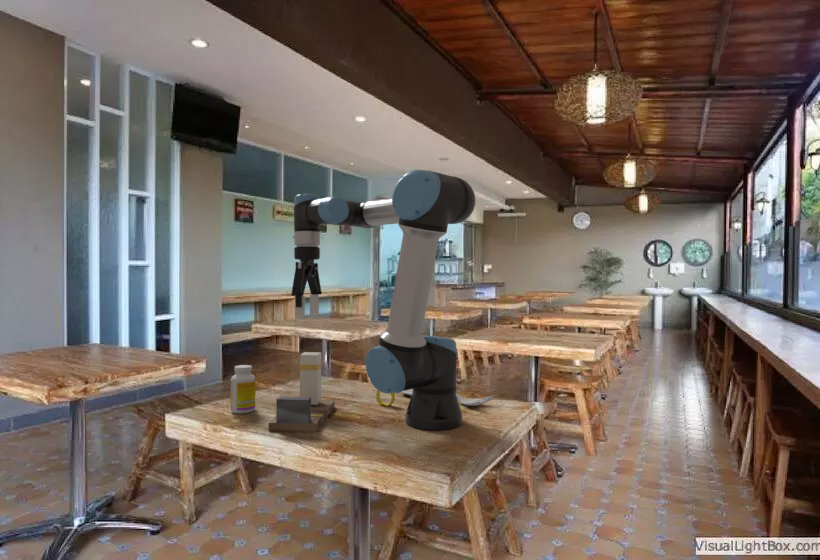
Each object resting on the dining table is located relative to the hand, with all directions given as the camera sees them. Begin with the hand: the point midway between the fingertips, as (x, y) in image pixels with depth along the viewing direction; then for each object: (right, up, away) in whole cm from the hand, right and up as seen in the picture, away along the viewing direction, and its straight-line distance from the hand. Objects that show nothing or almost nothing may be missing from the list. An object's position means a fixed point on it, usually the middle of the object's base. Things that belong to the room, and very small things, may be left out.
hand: (307, 317), depth 156 cm
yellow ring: (+23, -27, 0) cm, 36 cm away
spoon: (+41, -27, +7) cm, 49 cm away
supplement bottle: (-17, -26, -8) cm, 32 cm away
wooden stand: (+2, -27, -14) cm, 30 cm away
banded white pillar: (+2, -24, -7) cm, 25 cm away
